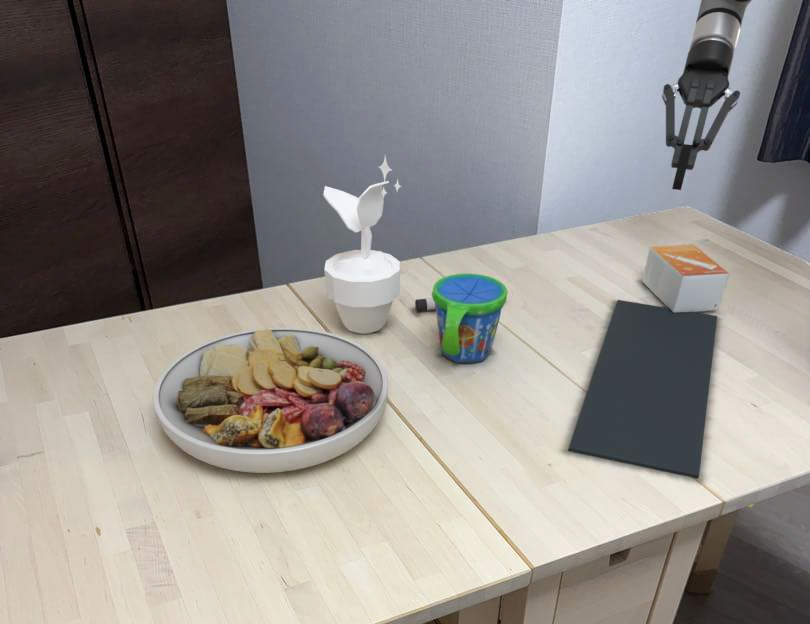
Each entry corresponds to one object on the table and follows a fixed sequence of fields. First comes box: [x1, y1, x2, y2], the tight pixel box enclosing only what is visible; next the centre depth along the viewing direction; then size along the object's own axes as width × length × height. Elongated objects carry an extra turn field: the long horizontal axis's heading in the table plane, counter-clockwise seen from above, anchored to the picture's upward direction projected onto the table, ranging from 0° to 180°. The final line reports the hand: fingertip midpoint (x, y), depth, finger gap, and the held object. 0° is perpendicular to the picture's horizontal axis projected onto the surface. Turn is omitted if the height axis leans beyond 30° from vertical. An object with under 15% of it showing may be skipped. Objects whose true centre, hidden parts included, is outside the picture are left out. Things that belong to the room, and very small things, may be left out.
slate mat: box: [567, 299, 718, 480], centre depth 107 cm, size 16×44×1 cm, turn 160°
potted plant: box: [323, 154, 403, 334], centre depth 109 cm, size 13×12×25 cm
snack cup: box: [431, 273, 509, 364], centre depth 109 cm, size 16×10×10 cm
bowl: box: [152, 326, 389, 474], centre depth 97 cm, size 30×30×8 cm
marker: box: [414, 297, 436, 313], centre depth 122 cm, size 15×2×2 cm, turn 104°
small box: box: [641, 243, 730, 313], centre depth 124 cm, size 8×6×13 cm
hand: (677, 185), depth 128 cm, fingers closed
